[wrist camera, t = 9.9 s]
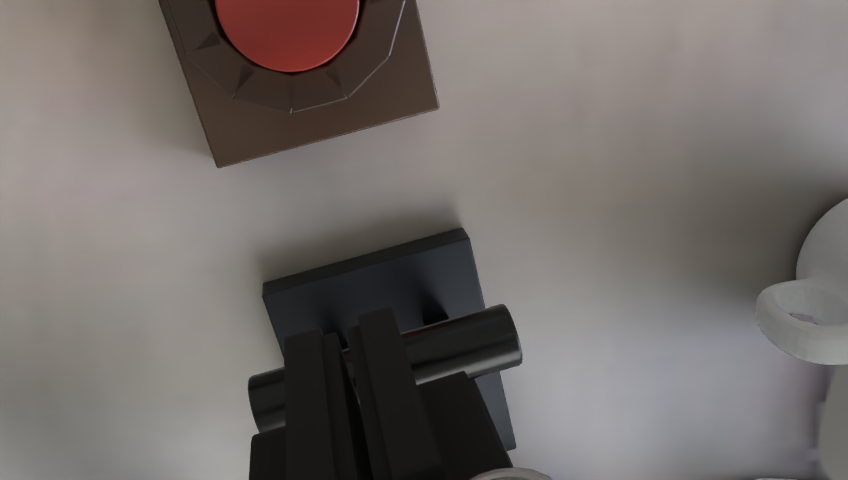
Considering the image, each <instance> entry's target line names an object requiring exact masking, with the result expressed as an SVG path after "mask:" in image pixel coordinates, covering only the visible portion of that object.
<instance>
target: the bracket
mask: <svg viewBox="0 0 848 480" xmlns="http://www.w3.org/2000/svg"><path fill="white" fill-rule="evenodd" d="M262 298H263V301H264V303H265V306H266V309H267V312H268V315H269V318H270V320H271V323H272V326H273V329H274V332H275V335H276V338H277V340H278V343H279V346H280V349H281V352H282V355H283V357H284V338H285V337H288V336H291V335H294V334H298V333H301V332H304V331H308V330H311V329H314V328H318V327H320V329H321V331H322V333H323V336H324V335H327V334H330V333H334V332H336V334H337V336H338V339H339V342H340V345H341V348H342V350H344V349H347V348H350V347H349V341H348V336H347V330H346V329H347V328H350V327H354V326H357V325H359V321H358V315H361V314H364V313H368V312H371V311H374V310H378V309H381V308H384V307H388V306H392V309H393V312H394V315H395V319H396V322H397V325H398V328H399V331H400V333H403V332H406V331H410V330H413V329H417V328H420V327H424V326H427V325H431V324H434V323H438V322H441V321H444V320H448V319H451V318H455V317H458V316H462V315H465V314H469V313H472V312H476V311H479V310H483V309H485V305H484V301H483V296H482V292H481V287H480V283H479V278H478V274H477V270H476V265H475V261H474V256H473V252H472V247H471V243H470V239H469V237H468V235H467V234H466V232H465V230H464V229H463V228H459V229H455V230H452V231H448V232H444V233H441V234H437V235H434V236H430V237H427V238H423V239H419V240H416V241H412V242H409V243H405V244H402V245H398V246H394V247H391V248H387V249H384V250H380V251H377V252H373V253H369V254H366V255H362V256H359V257H355V258H352V259H348V260H344V261H341V262H337V263H334V264H330V265H327V266H323V267H319V268H316V269H312V270H309V271H305V272H302V273H298V274H294V275H291V276H287V277H284V278H280V279H277V280H273V281H269V282H266V283H264V284H263V292H262ZM469 381H470V383H471V385H472V387H473V390H474V392H475V394H476V396H477V399H478V401H479V403H480V405H481V408H482V410H483V412H484V414H485V416H486V419H487V421H488V423H489V425H490V428H491V430H492V432H493V434H494V437H495V439H496V441H497V443H498V446H499V448H500V450H501V452H502V455H503V457H504V459H505V461H506V464H507V466H508V468H513V465H512V463H511V460H510V458H509V456H508V453H507V451H509V450H512V449H515V448H516V443H515V438H514V434H513V429H512V425H511V420H510V416H509V412H508V407H507V403H506V398H505V394H504V389H503V385H502V381H501V376H500V372H499V371H498V372H495V373H491V374H488V375H484V376H481V377H478V378H474V379H471V380H469Z"/></svg>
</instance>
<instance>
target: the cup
mask: <svg viewBox="0 0 848 480" xmlns="http://www.w3.org/2000/svg"><path fill="white" fill-rule="evenodd" d="M755 312H756V320H757V323H758V326H759V328H760V329H761V331H762V332H763V334H764V335H765V336H766V337H767V338H768V339H769V340H770V341H771V342H772V343H773V344H774V345H775V346H777V347H778V348H780V349H781V350H782V351H784V352H786V353H788V354H790V355H792V356H794V357H796V358H798V359H801V360H805V361H808V362H812V363H817V364H826V365H840V364H848V198H847V199H845V200H843V201H842V202H840V203H839V204H837V205H836V206H834V207H833V208H832V209H830V210H829V211H828V212H827V213H826V214H825V215H824V216H823V217H822V218H821V219H820V220H819V221H818V222H817V223H816V224H815V226H814V227H813V228H812V230H811V231H810V232H809V234H808V236H807V237H806V239H805V241H804V243H803V246H802V248H801V250H800V253H799V257H798V261H797V267H796V280H794V281H787V282H782V283H778V284H774V285H771V286H769V287H767V288H765V289H764V290H763V291H762V292H761V293H760V294H759V296H758V297H757V303H756V311H755ZM790 314H804V315H808V316H811V317H812V319H813V320H814V321H815V322H816V323H817V324H813V323H809V322H805V321H802V320H800V319H797V318H795V317H793V316H792V315H790Z"/></svg>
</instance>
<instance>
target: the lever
mask: <svg viewBox="0 0 848 480" xmlns="http://www.w3.org/2000/svg"><path fill="white" fill-rule="evenodd" d="M400 334H401V337H402V341H403V344H404V347H405V350H406V353H407V356H408V359H409V362H410V366H411V369H412V372H413V375H414V378H415V381H416V384H417V385H418V384H421V383H425V382H428V381H431V380H434V379H438V378H441V377H444V376H447V375H451V374H454V373H457V372H460V371H465V372H466V374H467V376H468V378H469V380H471V379H474V378H478V377H481V376H484V375H488V374H491V373H495V372H498V371H502V370H505V369H508V368H512V367H515V366H519V365H520V364H522V350H521V345H520V341H519V337H518V334H517V331H516V327H515V325H514V322H513V319H512V317H511V314H510V312H509V310H508V309H507V307H506V306H505V305H504V304H500V305H497V306H493V307H490V308H486V309H483V310H479V311H476V312H472V313H469V314H465V315H462V316H458V317H455V318H451V319H448V320H444V321H441V322H438V323H434V324H431V325H427V326H424V327H420V328H417V329H413V330H410V331H406V332H403V333H400ZM342 351H343V354H344V357H345V360H346V363H347V366H348V370H349V373H350V376H351V379H352V382H353V385H354V388H355V391H356V394H357V397H358V391H357V386H356V380H355V374H354V369H353V363H352V358H351V352H350V348H347V349H344V350H342ZM248 394H249V401H250V406H251V410H252V414H253V417H254V420H255V423H256V426H257V428H258V430H259V432H260V433H262V432H266V431H269V430H272V429H275V428H279V427H282V426H285V367H281V368H278V369H274V370H271V371H267V372H264V373H260V374H257V375H254V376H251V377H250V378H249V381H248ZM358 400H359V397H358ZM359 403H360V402H359Z"/></svg>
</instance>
